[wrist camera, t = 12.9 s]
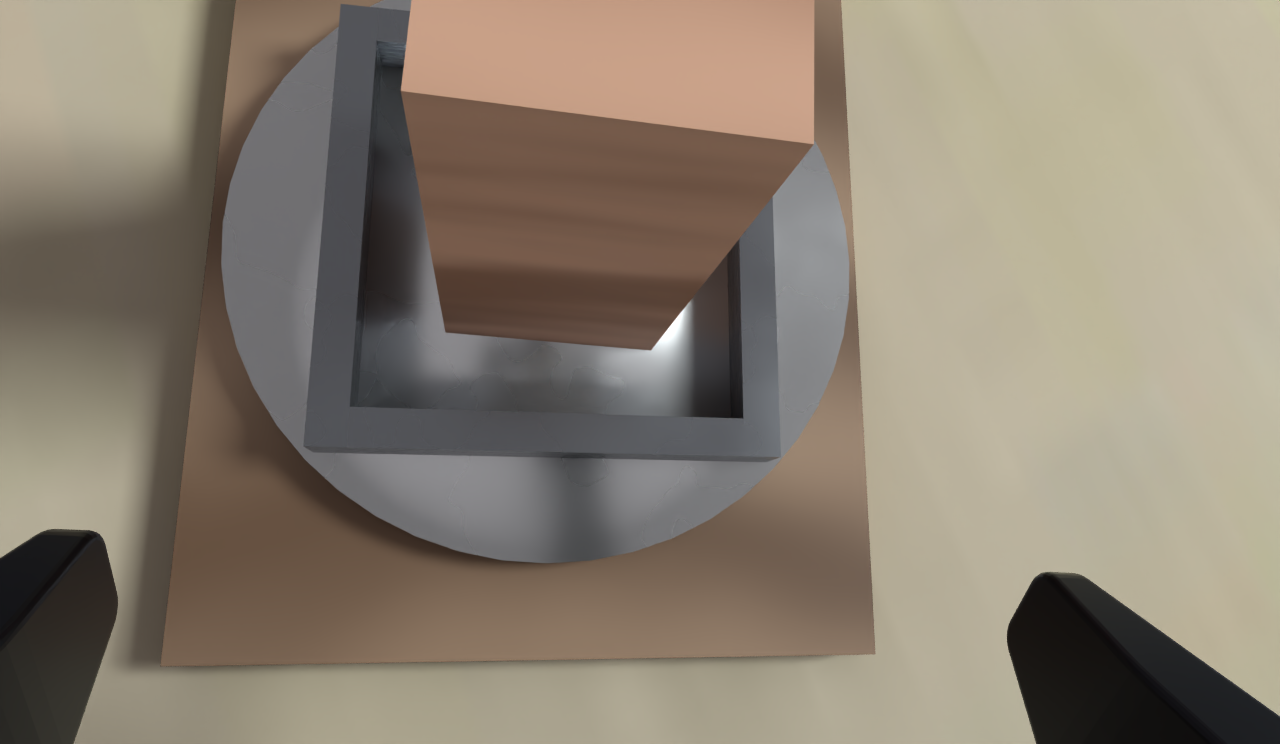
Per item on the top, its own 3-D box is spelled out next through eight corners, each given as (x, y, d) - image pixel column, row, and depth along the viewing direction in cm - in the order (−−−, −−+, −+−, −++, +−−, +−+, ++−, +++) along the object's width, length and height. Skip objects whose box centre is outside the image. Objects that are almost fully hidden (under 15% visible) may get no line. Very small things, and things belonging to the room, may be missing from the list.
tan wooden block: (651, 350, 19) (814, 144, 10) (445, 332, 19) (400, 90, 9) (659, 164, 20) (814, -192, 11) (464, 140, 20) (442, -262, 10)
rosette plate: (850, 563, 20) (884, 564, 18) (198, 562, 18) (166, 563, 16) (824, 20, 23) (851, -25, 21) (262, -42, 21) (242, -98, 19)
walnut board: (857, 649, 21) (875, 654, 20) (177, 660, 18) (160, 666, 17) (824, -21, 24) (838, -44, 23) (259, -88, 22) (249, -117, 21)
